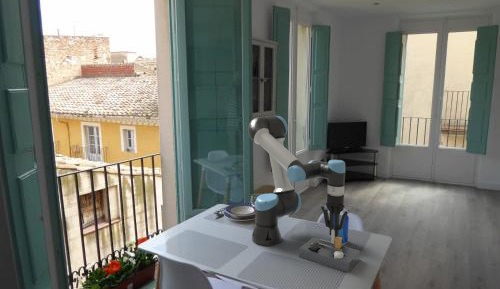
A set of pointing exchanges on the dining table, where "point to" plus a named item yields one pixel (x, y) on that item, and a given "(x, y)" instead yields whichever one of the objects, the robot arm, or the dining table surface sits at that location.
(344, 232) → the beer can
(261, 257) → the dining table surface
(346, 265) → the panel
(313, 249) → the black button
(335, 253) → the white button
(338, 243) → the toggle knob
